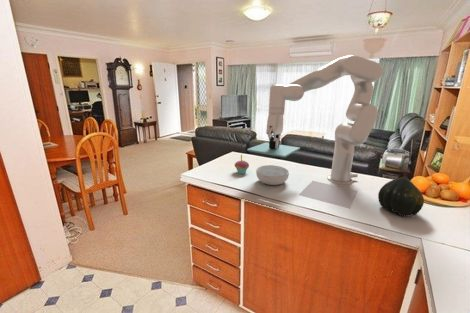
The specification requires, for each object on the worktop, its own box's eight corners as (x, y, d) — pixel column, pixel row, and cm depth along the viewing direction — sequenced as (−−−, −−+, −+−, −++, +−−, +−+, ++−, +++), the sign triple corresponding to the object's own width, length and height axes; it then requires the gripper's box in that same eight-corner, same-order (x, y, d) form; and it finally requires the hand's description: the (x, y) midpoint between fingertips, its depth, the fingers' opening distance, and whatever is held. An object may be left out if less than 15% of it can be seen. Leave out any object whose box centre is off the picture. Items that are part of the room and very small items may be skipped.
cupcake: (247, 175, 134) (248, 155, 130) (233, 174, 135) (233, 154, 132) (249, 170, 142) (250, 151, 138) (235, 169, 143) (236, 150, 140)
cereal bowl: (249, 181, 125) (249, 169, 123) (269, 174, 136) (270, 163, 134) (274, 192, 113) (275, 178, 111) (294, 183, 123) (295, 170, 122)
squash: (395, 209, 86) (423, 179, 86) (365, 194, 100) (388, 167, 100) (413, 229, 91) (439, 200, 91) (381, 211, 105) (404, 186, 105)
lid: (265, 143, 132) (266, 133, 131) (299, 149, 122) (301, 138, 120) (247, 150, 117) (247, 139, 115) (284, 157, 106) (285, 145, 104)
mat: (312, 181, 127) (312, 180, 126) (357, 191, 115) (357, 190, 115) (298, 195, 109) (298, 194, 109) (349, 209, 97) (349, 208, 97)
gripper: (276, 109, 122) (274, 143, 128) (261, 111, 109) (259, 149, 114) (290, 110, 118) (287, 145, 123) (276, 113, 105) (273, 152, 110)
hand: (274, 147), depth 119 cm, fingers closed on lid, 4 cm apart
